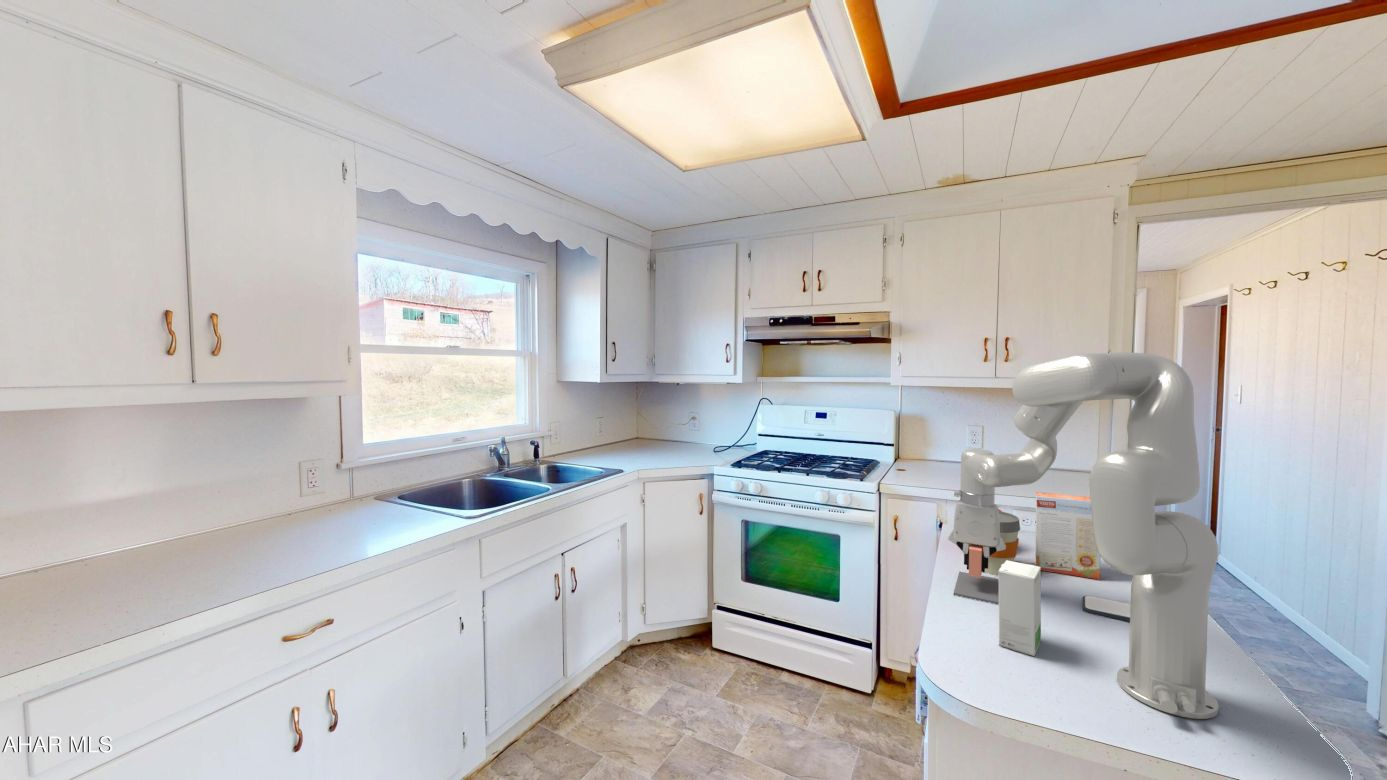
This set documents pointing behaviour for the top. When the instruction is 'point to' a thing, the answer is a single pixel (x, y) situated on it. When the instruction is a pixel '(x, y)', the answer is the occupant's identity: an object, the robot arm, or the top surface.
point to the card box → (975, 560)
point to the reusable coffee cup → (1010, 538)
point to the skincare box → (1020, 607)
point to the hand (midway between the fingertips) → (975, 568)
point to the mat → (977, 587)
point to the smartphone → (1106, 608)
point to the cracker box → (1066, 535)
